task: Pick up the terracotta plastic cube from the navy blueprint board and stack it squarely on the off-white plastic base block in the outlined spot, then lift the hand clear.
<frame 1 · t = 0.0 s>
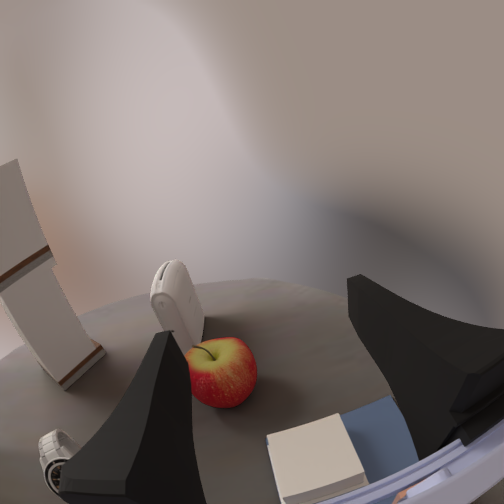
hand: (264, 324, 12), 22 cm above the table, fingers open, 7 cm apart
base block: (315, 466, 23), resting on blueprint board
tall white column: (72, 362, 47), on the table
blueprint board: (359, 489, 20), on the table
watch: (113, 497, 23), on the table
photo printer: (192, 336, 48), on the table
apple: (231, 395, 35), on the table
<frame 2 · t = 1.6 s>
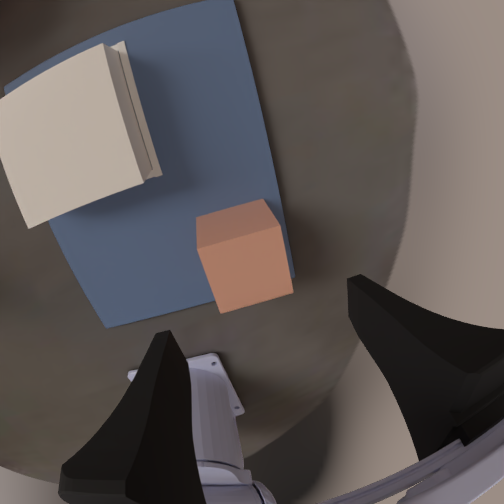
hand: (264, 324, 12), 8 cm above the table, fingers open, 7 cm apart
base block: (77, 132, 14), resting on blueprint board
terracotta block: (237, 237, 19), resting on blueprint board
blueprint board: (147, 177, 17), on the table
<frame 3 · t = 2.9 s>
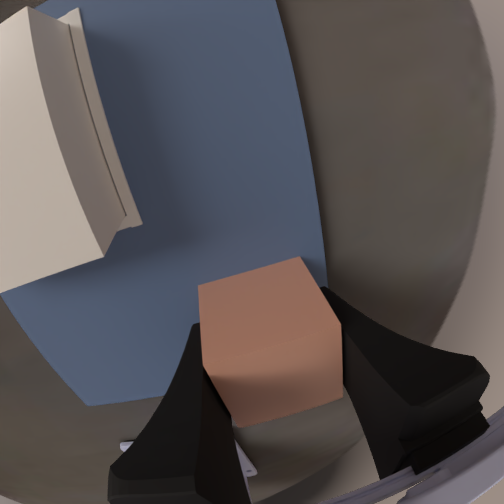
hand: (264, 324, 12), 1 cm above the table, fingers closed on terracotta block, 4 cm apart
base block: (12, 158, 8), resting on blueprint board
terracotta block: (260, 310, 13), resting on blueprint board, touching gripper
blueprint board: (121, 225, 11), on the table
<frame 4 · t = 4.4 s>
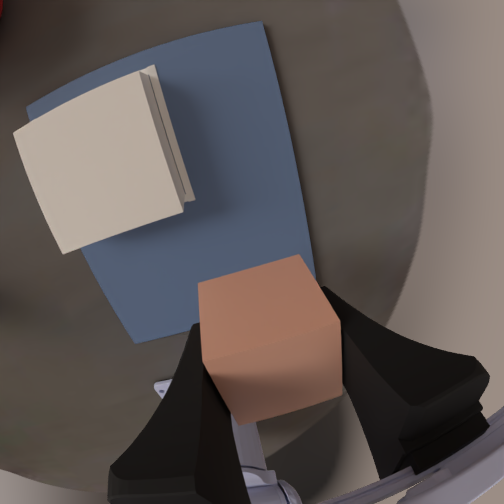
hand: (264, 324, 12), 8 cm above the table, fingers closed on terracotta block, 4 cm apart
base block: (107, 156, 15), resting on blueprint board
terracotta block: (259, 308, 13), point 7 cm above the table, touching gripper
blueprint board: (179, 201, 18), on the table
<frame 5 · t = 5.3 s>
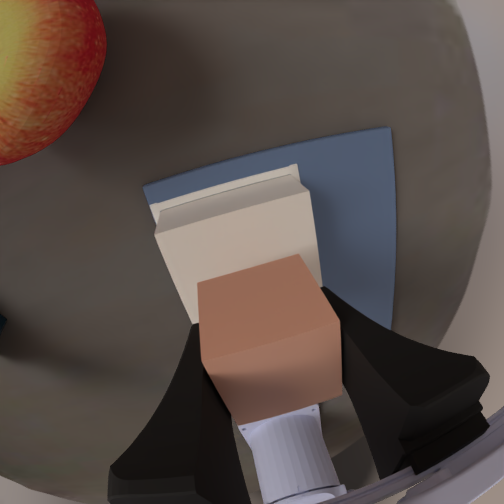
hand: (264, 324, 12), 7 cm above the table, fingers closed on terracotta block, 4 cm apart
base block: (241, 249, 18), resting on blueprint board
terracotta block: (259, 307, 13), point 6 cm above the table, touching gripper
blueprint board: (299, 285, 20), on the table
apple: (54, 69, 11), on the table
when the fingers open (6 cm above the table, at t = 6.0 s): terracotta block drops 1 cm, resting on base block.
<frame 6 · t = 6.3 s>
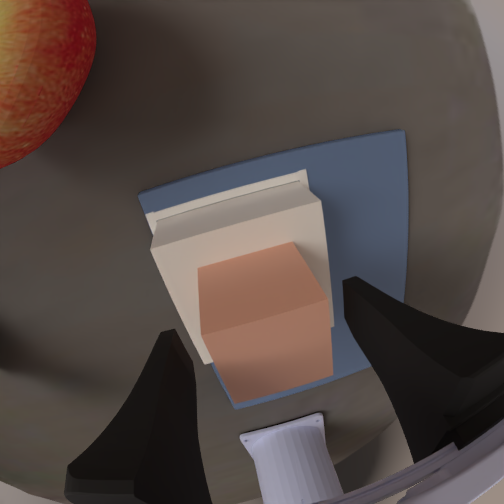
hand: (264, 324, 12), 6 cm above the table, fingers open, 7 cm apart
base block: (244, 261, 16), resting on blueprint board, touching terracotta block
terracotta block: (255, 293, 14), point 3 cm above the table, touching base block
blueprint board: (306, 297, 19), on the table
apple: (42, 67, 10), on the table
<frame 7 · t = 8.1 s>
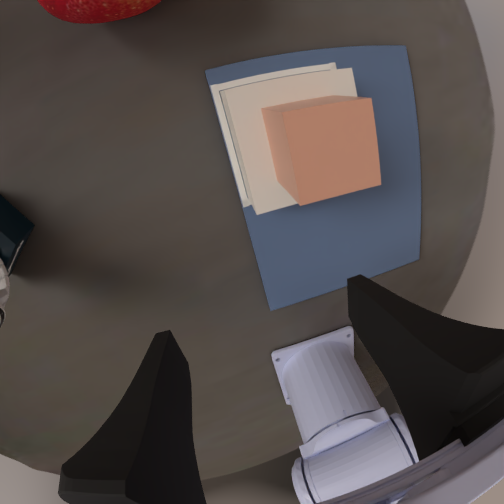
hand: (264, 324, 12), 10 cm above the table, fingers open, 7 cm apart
base block: (289, 132, 18), resting on blueprint board, touching terracotta block
terracotta block: (305, 136, 15), point 3 cm above the table, touching base block
blueprint board: (338, 178, 21), on the table
watch: (4, 233, 18), on the table
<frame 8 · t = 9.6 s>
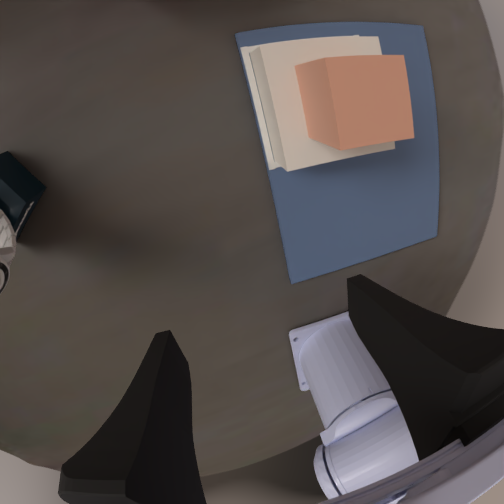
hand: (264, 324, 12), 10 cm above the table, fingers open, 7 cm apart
base block: (316, 97, 17), resting on blueprint board, touching terracotta block
terracotta block: (336, 96, 15), point 3 cm above the table, touching base block
blueprint board: (362, 147, 20), on the table
watch: (12, 197, 17), on the table
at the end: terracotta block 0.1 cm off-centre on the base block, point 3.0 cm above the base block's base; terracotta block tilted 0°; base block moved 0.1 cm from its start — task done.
